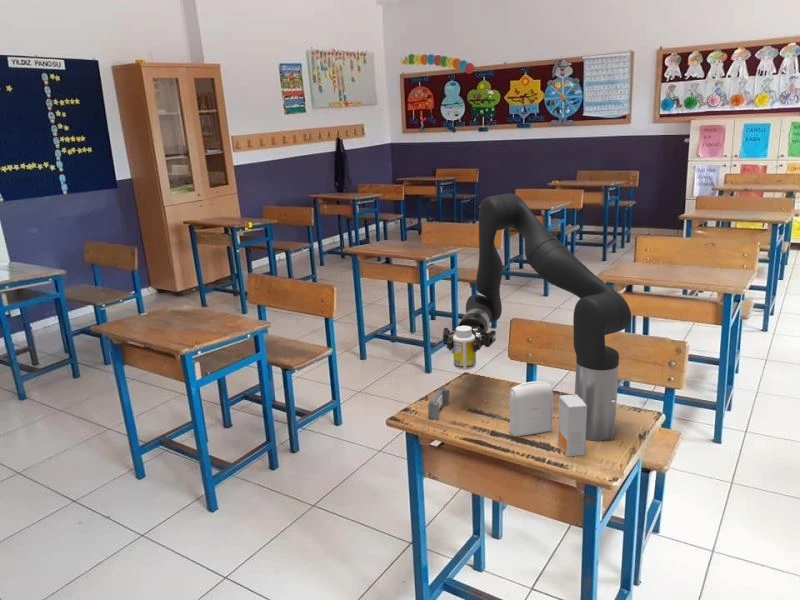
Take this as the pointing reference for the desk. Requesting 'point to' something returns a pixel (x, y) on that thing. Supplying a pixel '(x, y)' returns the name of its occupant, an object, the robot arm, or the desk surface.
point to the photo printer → (531, 408)
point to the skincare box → (572, 425)
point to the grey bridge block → (438, 403)
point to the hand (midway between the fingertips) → (462, 347)
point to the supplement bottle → (464, 348)
